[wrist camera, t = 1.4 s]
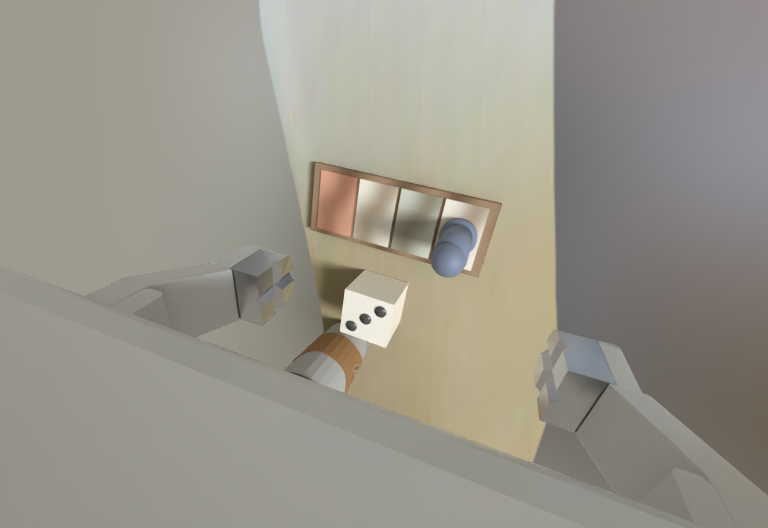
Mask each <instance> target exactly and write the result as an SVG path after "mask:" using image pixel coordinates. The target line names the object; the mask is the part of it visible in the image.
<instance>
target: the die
mask: <svg viewBox="0 0 768 528" xmlns="http://www.w3.org/2000/svg"><path fill="white" fill-rule="evenodd" d="M407 287H408V283H406V282H403V281H400V280H397V279H393V278H390V277H387V276H384V275H380V274H377V273H374V272H370V271H367V270H364V271H363V272H362V273H361V274H360V275H359V276H358V277H357V278H356V279H355V280H354V281H353V282H352V283H351V284H350V285H349V286H348V287H347V288H346V289H345V293H344V301H343V309H342V317H341V325H340V332H343V333H346V334H348V335H351V336H354V337H357V338H359V339H362V340H365V341H368V342H370V343H373V344H376V345H379V346H381V347H384V348H386V346H387V344H388V343H389V341H390V339H391V337H392V335H393V333H394V332H395V330H396V328H397V326H398V324H399V322H400V319H401V314H402V310H403V305H404V301H405V296H406V292H407Z"/></svg>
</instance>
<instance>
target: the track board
mask: <svg viewBox="0 0 768 528" xmlns="http://www.w3.org/2000/svg"><path fill="white" fill-rule="evenodd" d="M501 206H502V203H498V202H493V201H489V200H484V199H480V198H476V197H471V196H467V195H462V194H458V193H453V192H449V191H445V190H440V189H436V188H431V187H427V186H422V185H418V184H414V183H409V182H405V181H400V180H396V179H391V178H387V177H383V176H378V175H374V174H369V173H365V172H360V171H356V170H352V169H347V168H343V167H338V166H334V165H329V164H325V163H321V162H317V163H315V171H314V186H313V201H312V216H311V230H313V231H317V232H320V233H324V234H327V235H331V236H334V237H338V238H341V239H345V240H348V241H352V242H355V243H359V244H362V245H366V246H369V247H373V248H376V249H380V250H383V251H387V252H390V253H394V254H397V255H401V256H404V257H408V258H411V259H415V260H418V261H422V262H425V263H429V264H431V256H432V251H433V249H434V247H435V246H436V244H437V242H438V241H439V232H440V230H441V228H442V227H443V225H444V224H445V223H446V222H447V221H449V220H451V219H454V218H463V219H466V220H468V221H470V222H471V223H472V224H473V225H474V226H475V228H476V230H477V242H476V245H475V247H474V249H473V250H472V251H471V252H470V253H469V257H468V261H467V264H466V266H465V267H464V269H463V270H462V272H461V273H464V274H468V275H471V276H475V277H479V274H480V271H481V267H482V264H483V261H484V258H485V255H486V252H487V249H488V246H489V243H490V240H491V237H492V234H493V231H494V227H495V224H496V221H497V218H498V215H499V212H500V209H501Z"/></svg>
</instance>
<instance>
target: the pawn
mask: <svg viewBox="0 0 768 528" xmlns="http://www.w3.org/2000/svg"><path fill="white" fill-rule="evenodd" d="M476 242H477V230H476V228H475V226H474V225H473V224H472V223H471V222H470V221H468V220H466V219H463V218H454V219H451V220H449V221H447V222H446V223H445V224H444V225H443V227H442V228H441V230H440V232H439V241H438V242H437V244H436V246H435V247H434V249H433V251H432V256H431V265H432V267H433V269H434V271H435V272H436V273H437V274H439V275H440V276H443V277H454V276H456V275H458V274H459V273H461V272H462V270H463V269H464V267H465V266H466V264H467V261H468V257H469V253H470V252H471V251H472V250H473V249H474V247H475V245H476Z"/></svg>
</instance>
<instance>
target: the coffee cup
mask: <svg viewBox="0 0 768 528" xmlns="http://www.w3.org/2000/svg"><path fill="white" fill-rule="evenodd" d="M340 325H341V323H336V324H334V325H333V326H331V327H330V328H329V329H328V330H327V331H326V332H325V333H323V334H322V335H321V336H320V337H319V338H318V339H316V340H315V341H314V342H313V343H312V344H311V345H310V346H309V347H308V348H306V349H305V350H304V351H303V352H302V353H301V354H300V355H299V356H298V357H297V358H296V359H294V361H293V362H292V363H291V364H290V365H289V366H288V367H287V368H286V369H285V370H284V371H287V372H290V373H293V374H295V375H298V376H301V377H303V378H306V379H309V380H311V381H314V382H317V383H319V384H322V385H325V386H328V387H330V388H333V389H336V390H338V391H341V392H344V393H347V391H348V389H349V387H350V385H351V383H352V381H353V379H354V377H355V375H356V373H357V371H358V369H359V367H360V365H361V362H362V360H363V358H364V356H365V354H366V351H367V341H365V340H362V339H359V338H357V337H354V336H351V335H348V334H346V333H343V332H340Z"/></svg>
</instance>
